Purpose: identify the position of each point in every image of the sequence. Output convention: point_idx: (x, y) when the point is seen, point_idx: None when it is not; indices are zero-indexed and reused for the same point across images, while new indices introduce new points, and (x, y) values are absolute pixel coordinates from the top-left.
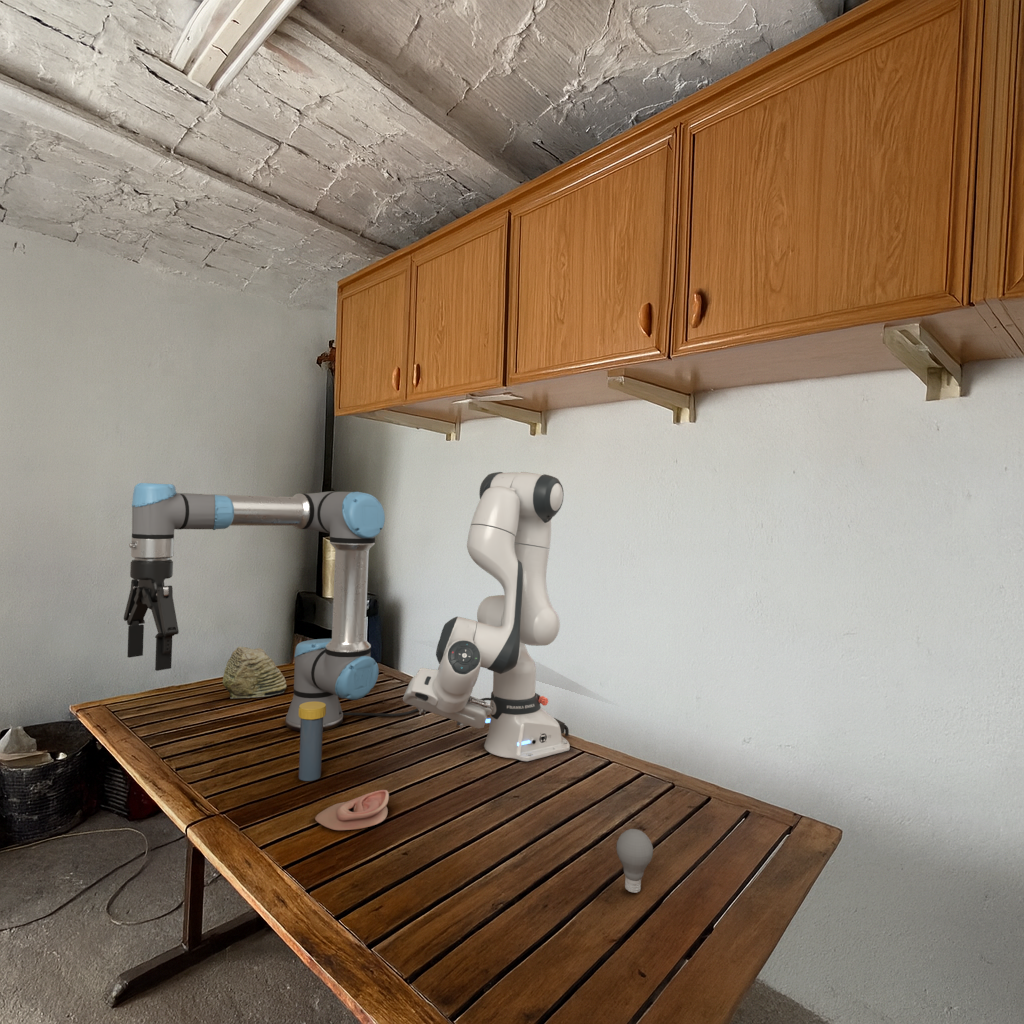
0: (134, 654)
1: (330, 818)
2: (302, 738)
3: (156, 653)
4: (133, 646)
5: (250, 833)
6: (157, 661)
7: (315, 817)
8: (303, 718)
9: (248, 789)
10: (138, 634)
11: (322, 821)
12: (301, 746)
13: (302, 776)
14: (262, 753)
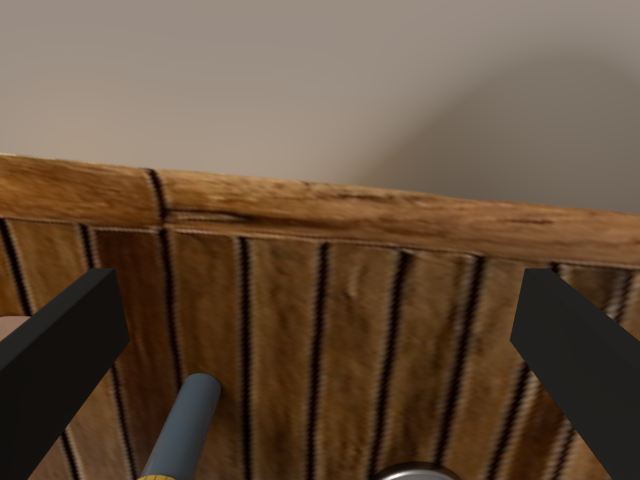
0: (525, 305)
1: (6, 331)
2: (171, 435)
3: (31, 330)
4: (559, 331)
5: (58, 230)
6: (53, 299)
7: None
8: (145, 476)
9: (223, 301)
10: (613, 430)
11: (14, 320)
12: (180, 421)
13: (192, 378)
14: (353, 384)
